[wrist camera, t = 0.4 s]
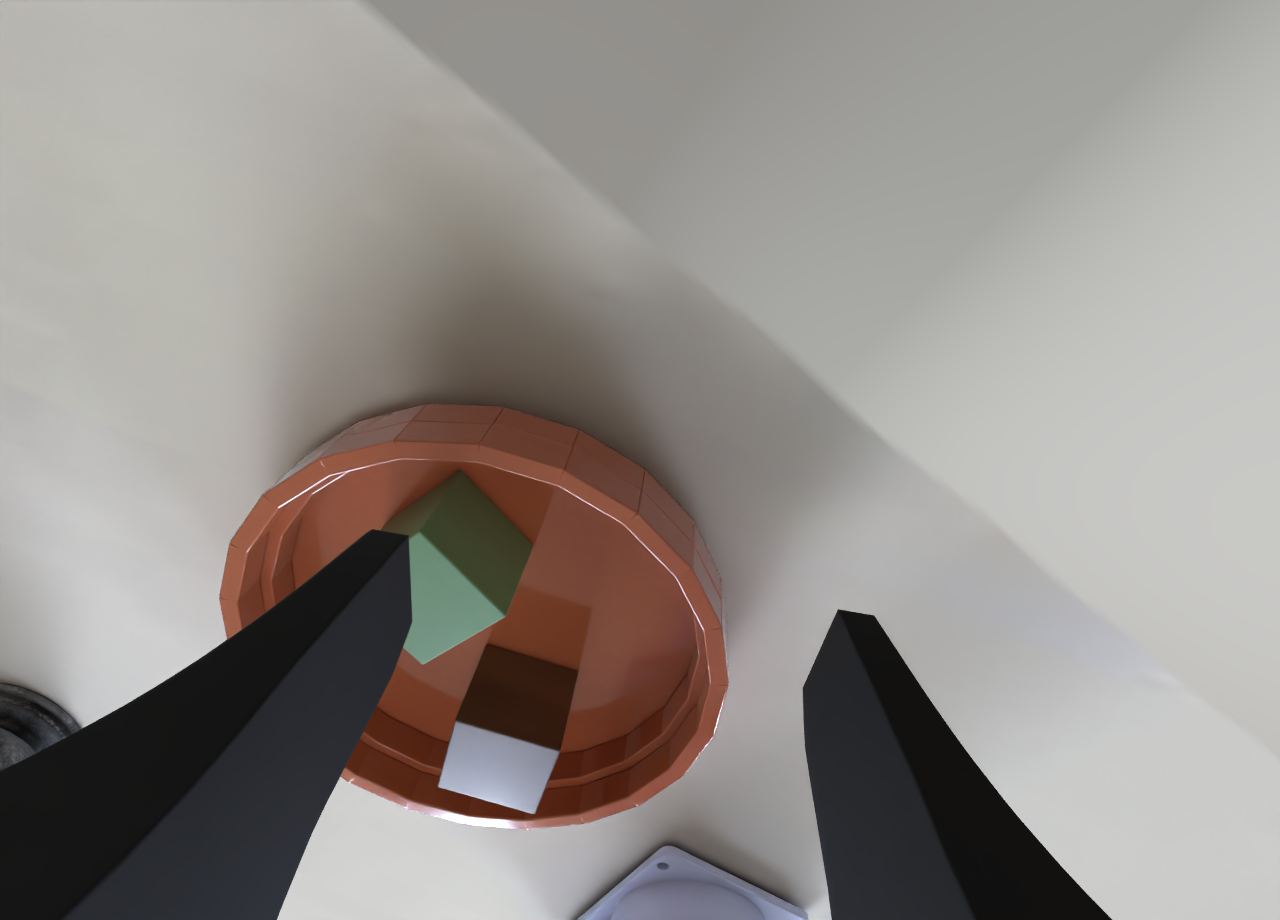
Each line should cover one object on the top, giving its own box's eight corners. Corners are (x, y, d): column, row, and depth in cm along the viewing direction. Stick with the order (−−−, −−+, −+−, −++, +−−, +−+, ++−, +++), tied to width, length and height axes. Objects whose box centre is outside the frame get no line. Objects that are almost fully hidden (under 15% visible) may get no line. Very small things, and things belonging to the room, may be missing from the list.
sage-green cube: (459, 592, 24) (422, 666, 21) (386, 521, 23) (335, 588, 19) (534, 545, 22) (506, 616, 19) (460, 468, 21) (419, 531, 18)
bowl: (579, 813, 30) (566, 883, 27) (218, 638, 27) (164, 698, 24) (825, 570, 23) (840, 633, 20) (372, 292, 19) (319, 323, 17)
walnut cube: (555, 732, 27) (535, 815, 24) (468, 706, 26) (436, 787, 23) (578, 670, 25) (560, 751, 22) (486, 642, 25) (454, 720, 22)
